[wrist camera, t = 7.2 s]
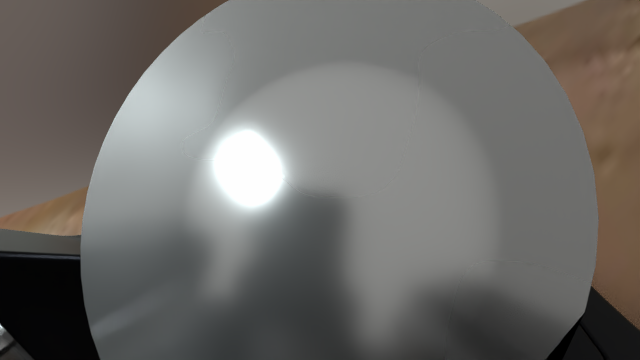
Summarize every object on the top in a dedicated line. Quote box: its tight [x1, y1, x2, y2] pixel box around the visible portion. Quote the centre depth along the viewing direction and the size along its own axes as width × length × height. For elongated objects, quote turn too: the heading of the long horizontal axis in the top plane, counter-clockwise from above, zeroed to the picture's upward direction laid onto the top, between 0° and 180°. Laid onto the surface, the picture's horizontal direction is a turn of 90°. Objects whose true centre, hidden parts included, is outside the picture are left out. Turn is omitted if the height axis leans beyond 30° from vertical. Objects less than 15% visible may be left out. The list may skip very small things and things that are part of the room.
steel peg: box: [80, 0, 599, 360], centre depth 9 cm, size 5×5×13 cm
